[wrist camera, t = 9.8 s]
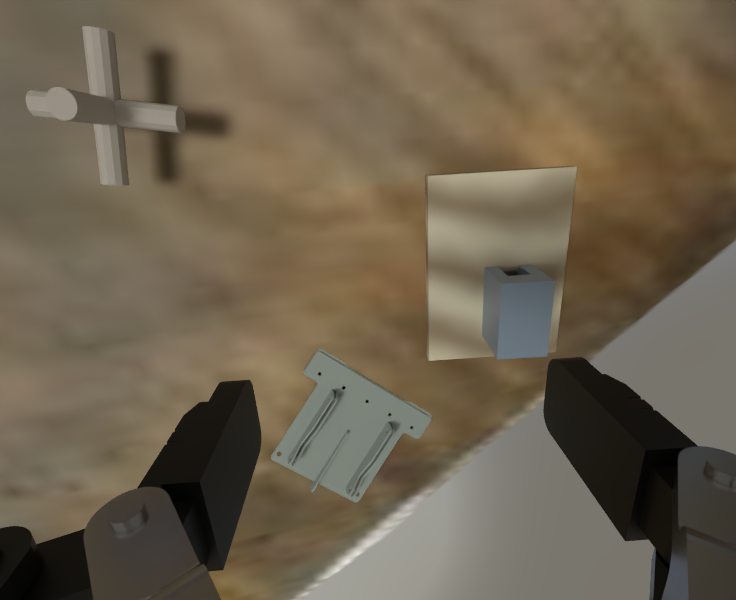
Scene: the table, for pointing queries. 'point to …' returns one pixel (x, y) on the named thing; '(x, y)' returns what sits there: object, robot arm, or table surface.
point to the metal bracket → (346, 428)
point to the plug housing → (517, 312)
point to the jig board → (490, 246)
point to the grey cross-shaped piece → (105, 107)
